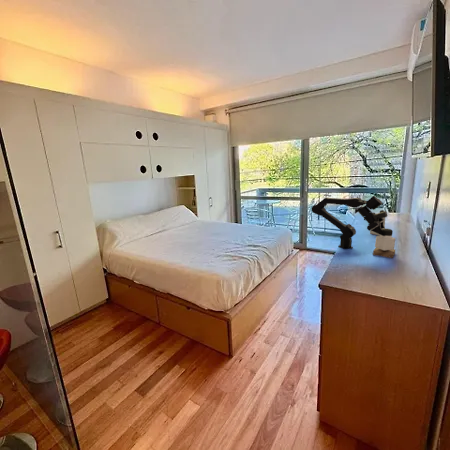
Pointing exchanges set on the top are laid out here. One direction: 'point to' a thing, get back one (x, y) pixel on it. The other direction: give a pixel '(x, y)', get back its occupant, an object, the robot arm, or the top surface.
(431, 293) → the top surface
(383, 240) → the medicine bottle
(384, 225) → the skincare box
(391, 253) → the walnut block
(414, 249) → the top surface
